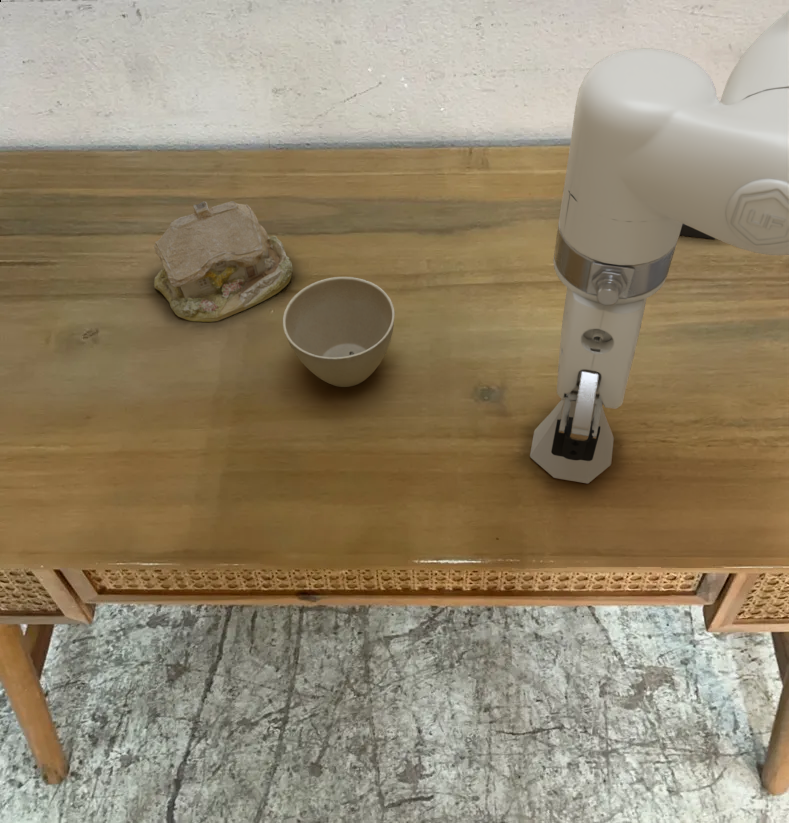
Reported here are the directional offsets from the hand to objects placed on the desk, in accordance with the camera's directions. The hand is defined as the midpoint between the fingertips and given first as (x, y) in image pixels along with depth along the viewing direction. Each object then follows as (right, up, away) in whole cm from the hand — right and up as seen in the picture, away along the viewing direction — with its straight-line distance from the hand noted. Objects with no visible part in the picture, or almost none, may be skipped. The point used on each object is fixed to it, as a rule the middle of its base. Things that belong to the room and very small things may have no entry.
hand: (578, 407), depth 68 cm
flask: (0, -4, +5) cm, 6 cm away
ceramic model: (-33, +13, +20) cm, 41 cm away
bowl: (-20, +4, +12) cm, 23 cm away
